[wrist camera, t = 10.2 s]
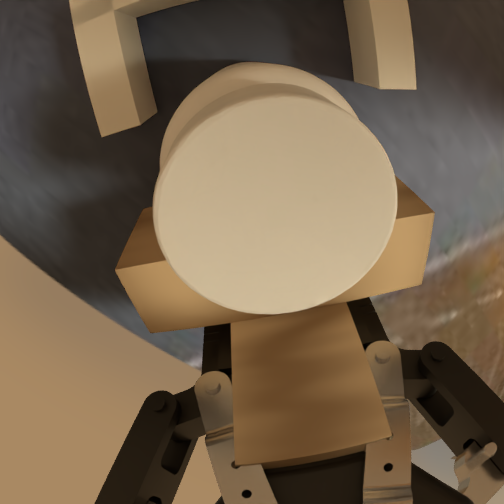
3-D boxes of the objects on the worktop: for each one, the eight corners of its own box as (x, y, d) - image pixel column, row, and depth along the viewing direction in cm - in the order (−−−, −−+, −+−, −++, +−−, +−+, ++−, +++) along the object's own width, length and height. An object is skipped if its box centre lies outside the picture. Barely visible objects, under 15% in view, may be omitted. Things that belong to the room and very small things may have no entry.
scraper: (383, 165, 12) (532, 330, 4) (375, 290, 16) (440, 443, 8) (143, 208, 12) (63, 418, 5) (191, 323, 16) (181, 490, 9)
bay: (368, -40, 7) (395, -55, 5) (386, 81, 11) (416, 89, 9) (96, 1, 8) (67, -7, 6) (124, 121, 11) (101, 137, 9)
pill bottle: (170, 134, 12) (84, 256, 5) (238, 39, 10) (247, -7, 3) (263, 193, 14) (293, 356, 7) (334, 110, 11) (463, 200, 5)
